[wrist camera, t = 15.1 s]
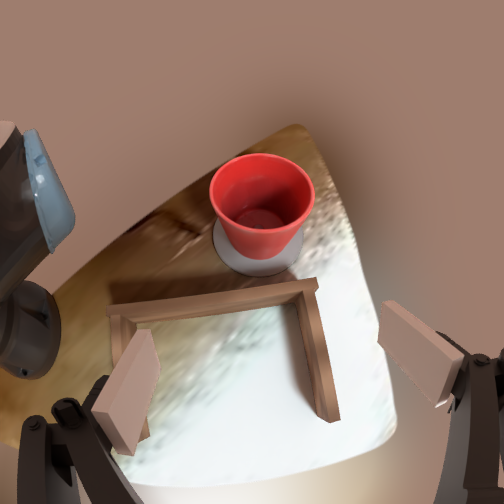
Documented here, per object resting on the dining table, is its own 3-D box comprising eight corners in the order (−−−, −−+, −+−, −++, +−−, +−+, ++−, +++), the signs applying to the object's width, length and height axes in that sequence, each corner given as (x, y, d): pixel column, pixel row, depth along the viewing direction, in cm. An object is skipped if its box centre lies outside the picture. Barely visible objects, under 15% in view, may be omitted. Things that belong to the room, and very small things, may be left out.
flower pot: (238, 190, 39) (237, 141, 31) (310, 218, 38) (326, 172, 29) (203, 250, 35) (189, 207, 26) (282, 284, 33) (294, 250, 25)
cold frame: (331, 412, 27) (346, 418, 23) (136, 435, 25) (119, 443, 21) (306, 290, 34) (316, 277, 29) (123, 315, 32) (106, 305, 27)
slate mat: (198, 258, 35) (198, 256, 35) (234, 189, 40) (234, 186, 40) (287, 290, 34) (287, 288, 33) (312, 214, 39) (312, 212, 38)
